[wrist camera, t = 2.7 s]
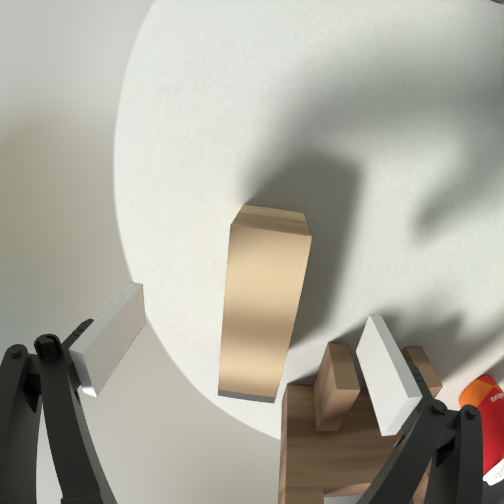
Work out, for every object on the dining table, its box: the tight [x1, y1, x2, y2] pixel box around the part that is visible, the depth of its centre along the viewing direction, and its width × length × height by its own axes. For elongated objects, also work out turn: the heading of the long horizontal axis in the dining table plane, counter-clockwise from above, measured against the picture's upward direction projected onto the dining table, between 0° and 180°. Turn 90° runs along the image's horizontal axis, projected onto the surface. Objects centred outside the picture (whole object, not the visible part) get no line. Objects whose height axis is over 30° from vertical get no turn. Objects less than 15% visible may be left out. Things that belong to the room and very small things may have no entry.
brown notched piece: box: [278, 343, 443, 504], centre depth 19 cm, size 9×16×16 cm, turn 84°
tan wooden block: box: [218, 204, 312, 403], centre depth 21 cm, size 14×4×6 cm, turn 174°
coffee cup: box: [459, 375, 504, 485], centre depth 20 cm, size 8×8×15 cm
